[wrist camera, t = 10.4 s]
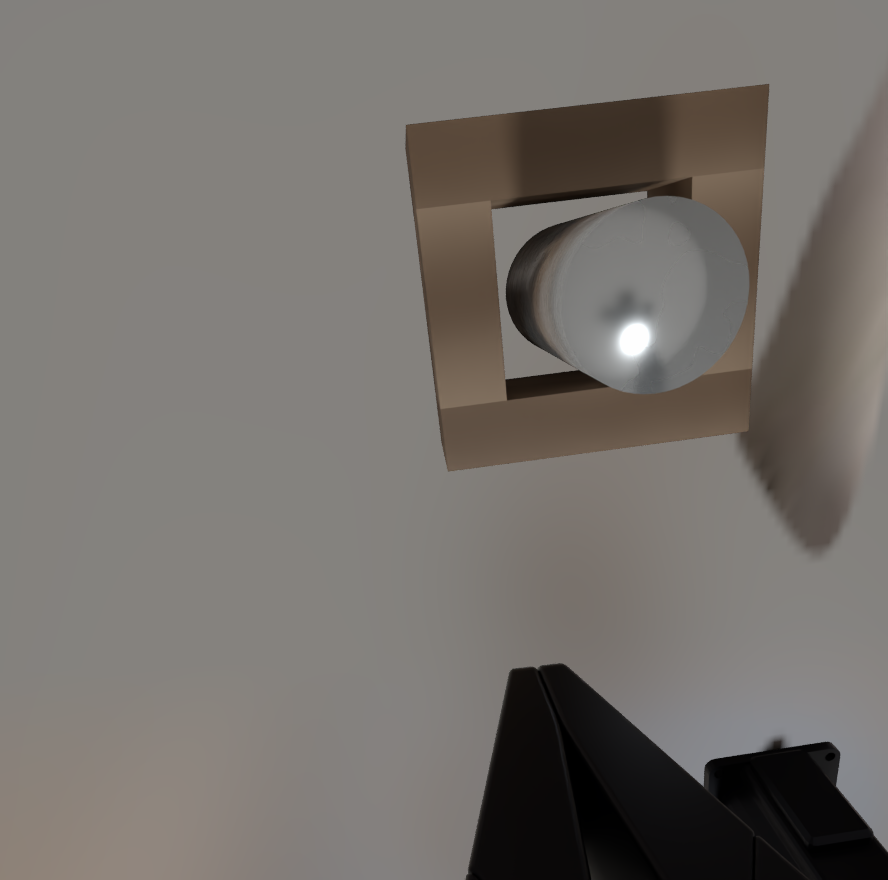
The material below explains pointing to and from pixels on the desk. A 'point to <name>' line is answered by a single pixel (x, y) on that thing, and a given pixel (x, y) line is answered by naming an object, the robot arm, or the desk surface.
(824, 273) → the desk surface
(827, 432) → the desk surface
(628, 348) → the metal cylinder
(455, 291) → the frame
